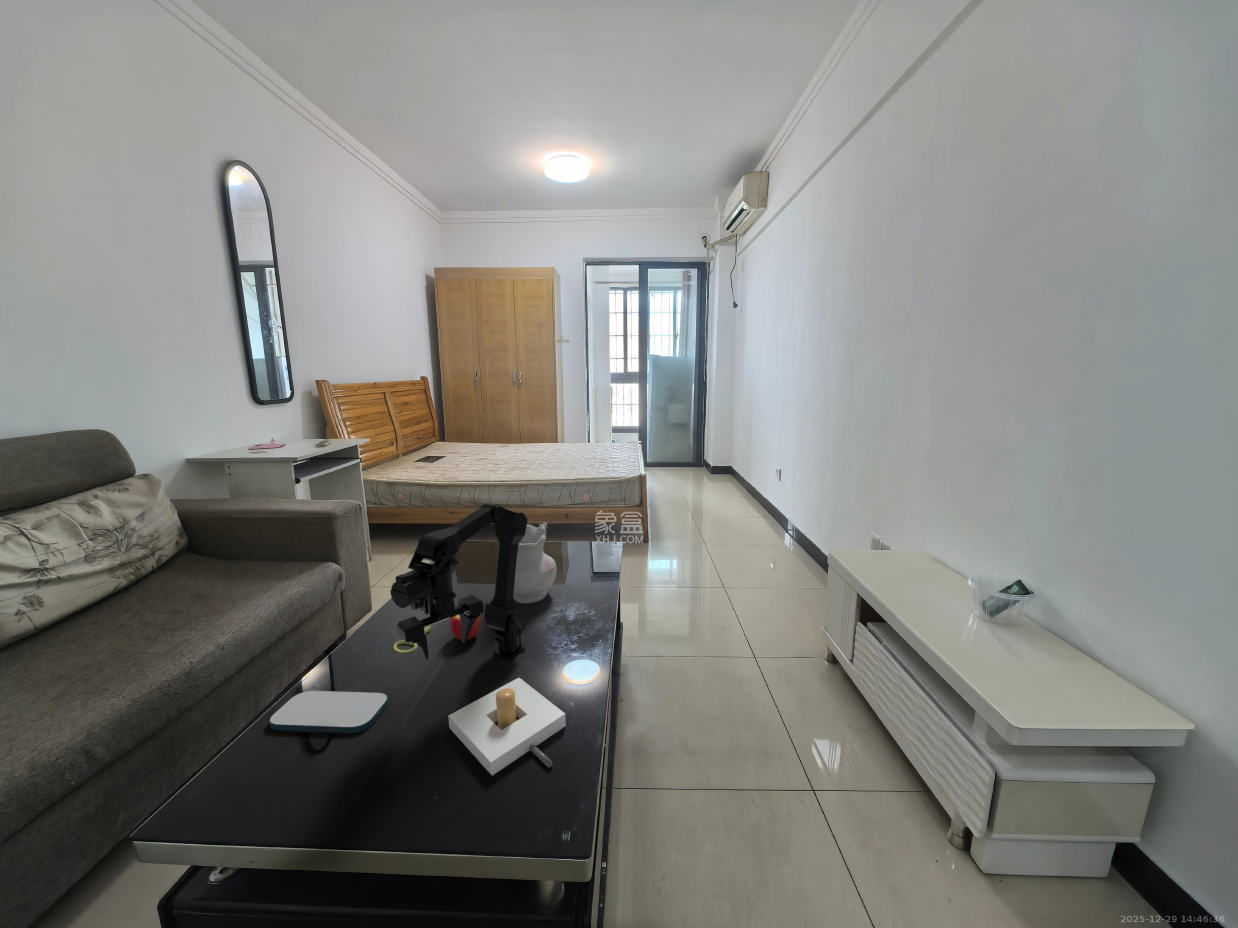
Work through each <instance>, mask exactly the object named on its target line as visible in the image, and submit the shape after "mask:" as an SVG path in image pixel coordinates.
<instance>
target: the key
mask: <svg viewBox="0 0 1238 928" xmlns="http://www.w3.org/2000/svg"><path fill="white" fill-rule="evenodd" d="M424 630H425V633H424V635H425V634H427V633H428V632H429V631H430V630H432V625H431V626H429V627H426V628H424ZM399 645H411V646H413V647H412V648H410V649H403V650H402V649H399V648H398V646H399ZM392 649H393V650H394V652H396V653H398V654H410V653H414V652H415V651H417V649H419V647H418V645H417V643H412V642H405V641H404V640H403V639H402V640H399V641H397V642H395V643H394V644H393V648H392Z"/></svg>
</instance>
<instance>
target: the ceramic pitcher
mask: <svg viewBox="0 0 1238 928" xmlns="http://www.w3.org/2000/svg"><path fill="white" fill-rule="evenodd" d="M538 525H539V526H538V527H536V526H534V525H532V524H527V527H526V532H525V535H524V537H523V538H522V540H521V541H520V543H519V544H518V552H517V562H516V573H515V583H514V593H513V598H514V600H515V602H516V604H517V603H518V604H519V603H520V604H528V605H529V604H532V603H537V602H540V601H543V600H544V598H546V596H547V593H548V590H549V589H550V588H551V587H552V586H553V583H554V582H555V580H556V577H557V563H556V561H555V559H553V558H552V557H551V556H549V555H548V554H546V553H545V552H544V545H545V542H546V539H547V529H546V523H542V524H541V523H538Z"/></svg>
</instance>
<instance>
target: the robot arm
mask: <svg viewBox="0 0 1238 928" xmlns="http://www.w3.org/2000/svg"><path fill="white" fill-rule="evenodd" d="M491 524H493V525H494V534H495V537H496V538H497V540H498V543H499V544H498V545H499V547H498V554H497V566H496V575H495V576H496V577H495V587H494V588H495V589H494V596H493V597H492V598H491V600H490V602H486V604H484V601H483V600H481V599H480V598H478V597H477V596H475V595H473V594H471V595H468V596H465V597H464V598H460V599H459V600H458V601H457V603H458V605H457V606H455V598H456V597H457V594H456V592H455V591H454V587H453V576H452V567H454V566H456V565H458V564H459V561H458V560H456V559H454V558H453V557H454V556H456V554H457V553H458V552H459V551H460V548H461V546H462V545H463V544H464V543H465V542H466V541H468V540H469V539H470V538H472V537H474V536H475V535H476V534H478V533H479V532H481V531H483V530H484V529H486V528H487V527H488V526H489V525H491ZM527 525H528V517H527V516H526V515H525V513H523V512H519V511H515V510H510V509H507V508H505V507H503V506H500V504H495V503H494V504H493V503H487V502H486V503H483V504H482V505H481V506H480V508H478V509H476V510H475V511H472V512H471V513H470V514H468V515H466V516H465V517H464V518H462V519H460V520H459V521H457V522H456V523H453V524H452V525H451V526H449V527H446V528H443V529H438V530H434V531H431V532H430V533H427V534H424V535H423V536H421V537H420V538H419V539H418V544H417V546H416V549H415V551H414V553H413V555H412V557H411V559H410V562H409V564H408V566H407V567H408V569H410V570H409V571H408V572H406V573H402V574H399V575H396V576H395V582H393V583H392V585H391V589H390V590H389V592H390V596H391V599H392V601H393V602H394V604H395V605H396V606H397V607H398V608H400V609H405V608H407V607H409V606H410V607H411V609H412V610H414V611H416V610H418V609H419V611H420V612H421V611H423V614H425V615H428V617H425V618H423V619H420V620H419V619H418V618H417V617H416V616H412V617H409V618H406V619H403V620H400V621H399V622H398V623H397V625H396V633H397V635H398V636H399V637H400V638H401V639H402V640H404V641H405V642H412V643H417V645H418V649H419V650H420V652H421V654H422V656H423V657H424V659H425V660H429V649H428V648H429V647H428V639H427V638H428V637H427V636H426V635H425V634H426V633H425V630H424V628H426V627H429V626H431V627H432V626H433V625H435V624H438V623H441V622H443V621H446V620H448V619H451V617H454V616H456V615H459V616H460V619H461V637H462V640H461V642H462V643H463V644H465V643H467V641H468V640H467V638H468V636H469V633H470V631H471V629H472V627H473V625H474V623H475V621H476V619H477V618H479V617H480V618H481V614H483V613H484V614H483V618H484V619H485V620H484V622H485V625H487V627H488V628H489V630H490V631H494V638H493V643H494V644H493V646H494V647H493V649H492V650H493V652H494V653H495V654H497V655H499V656H500V657H501V658H503V659H504V660H508V659H510V658H512V657H514V656H515V655H517V654H519V653H521V652H524V651H525V650H526V647H525V646H523V645H522V634H523V632H524V631H525V630H526V625H527V622H526V621H525V620H523V619H522V618H521V617H519V608H518V604H517V602H516V601H515V600H514V598H513V593H514V583H515V573H516V562H517V552H518V544H519V543H520V541H521V540H522V538H523V537H524V535H525V532H526V527H527ZM424 560H425V561H430V562H433V563H428V562H424ZM424 633H425V634H424Z"/></svg>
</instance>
